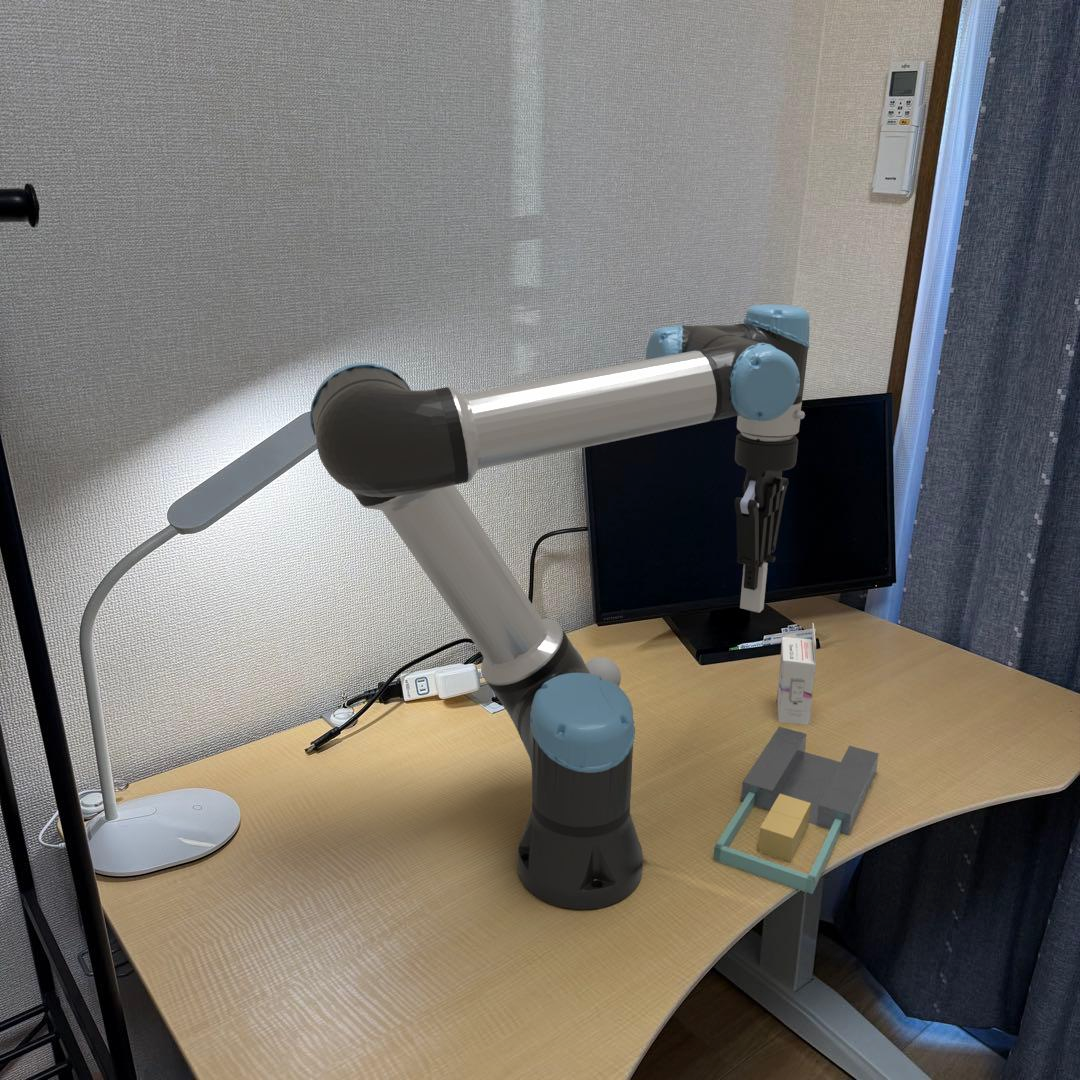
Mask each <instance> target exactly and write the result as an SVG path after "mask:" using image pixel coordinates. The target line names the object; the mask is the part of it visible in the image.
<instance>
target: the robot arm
mask: <svg viewBox="0 0 1080 1080" xmlns="http://www.w3.org/2000/svg"><path fill="white" fill-rule="evenodd" d="M743 319H744V320H743V323H738V324H726V325H725V324H723V325H722V324H721V325H715V324H714V325H713V324H712V325H709V324H708V325H706V324H705V325H683V324H678V325H676V326H664V327H659V328H657V329H655V330H654V331H653V332H652V333H651V335H650V337H649V338H648V341H647V344H646V350H645V359H644V360H643V359H642V360H639V361H633V362H628V363H623V364H618V365H613V366H608V367H601V368H597V369H590V370H585V371H580V372H575V373H569V374H565V375H560V376H555V377H554V376H553V377H550V378H549V377H548V378H544V379H538V380H533V381H529V382H528V381H527V382H523V383H517V384H511V385H508V386H501V387H496V388H495V387H494V388H492V389H491V388H490V389H485V390H481V391H475V392H471V393H464V394H463V393H461V392H459V390H456V389H455V388H453V387H452V386H445V387H440V388H436V389H427V390H426V389H425V390H412V389H411V387H410V386H409V384H408V382H407V381H406V380H405V379H404V378H403V377H402V376H400V374H399V373H398V372H395V371H394V370H393V369H392V370H391V368H389V367H386V366H383V365H380V364H376V363H372V362H355V363H350V364H347V365H345V366H342V367H340V368H338V369H336V370H335V371H333V372H331V373H330V374H329V375H328V376H327V377H326V378H325V379H324V380H323V381H322V382H321V384H320V385H319V386H318V388H317V391H316V393H315V395H314V397H313V398H312V399H313V400H312V401H311V405H310V413H309V421H310V425H311V431H312V432H313V435H314V436H315V435H316V437H315V441H316V442H315V443H316V448H317V452H318V456H319V459H320V461H321V463H322V465H323V467H324V469H326V471H327V473H328V475H329V476H330V477H331V478H332V479H333V480H334V481H335V482H337V484H339V485H341V486H342V487H344V488H345V489H347V490H349V491H350V492H352V494H353V496H354V497H355V498H356V499H357V501H358V503H360V505H361V506H362V507H363V508H365V509H371V510H377V511H378V510H379V511H381V512H383V514H384V516H385V517H386V518H387V520H388V521H389V523H390V524H391V526H392V527H393V528H394V530H395V532H396V533H397V535H398V536H399V537H400V539H401V540H402V541H403V543H404V545H405V547H406V548H407V549H408V550H409V551H410V553H411V554H412V556H413V557H414V559H415V560H416V562H417V563H418V565H419V566H420V568H421V569H422V570H423V572H424V573H425V574H426V576H427V577H428V579H429V581H431V583H432V584H433V585H432V586H434V587H435V588H436V591H437V592H438V594H439V595H440V596H441V598H442V599H443V601H444V602H445V603H446V605H447V606H448V608H449V609H450V611H451V612H452V613H453V615H454V616H455V618H456V619H457V621H458V622H459V624H460V625H461V626H462V628H463V630H465V632H466V634H467V635H468V636H469V638H470V639H471V641H472V642H473V644H474V645H475V646H476V648H477V650H479V653H481V655H482V657H483V660H482V662H481V666H480V667H481V668H480V673H481V676H482V677H483V679H484V681H485V682H486V684H487V685H488V686H489V688H490V689H491V691H492V692H493V694H494V695H495V696H496V698H497V699H498V700H499V702H500V703H501V705H502V706H503V707H504V709H505V711H506V712H507V713H508V715H509V718H510V719H511V720H512V722H513V725H514V726H515V728H516V731H517V733H518V735H519V737H520V738H519V739H521V740H520V741H521V742H522V744H523V746H524V748H525V750H526V753H527V755H528V757H529V760H530V764H531V766H530V767H531V811H530V814H529V817H528V819H527V822H526V825H525V827H524V830H523V832H522V835H521V838H520V841H519V843H518V845H517V846H518V847H517V873H518V877H519V878H520V881H521V882H522V884H523V886H524V887H525V888H526V889H527V890H528V891H529V892H530V893H531V894H532V895H534V896H535V897H537V898H538V899H540V900H542V901H544V902H546V903H548V904H550V905H553V906H557V907H560V908H563V909H564V908H565V909H572V910H592V909H599V908H603V907H608V906H611V905H613V904H616V903H619V902H620V901H622V900H623V899H625V898H627V897H628V896H629V895H630V894H632V893H633V892H634V891H635V890H636V888H637V887H638V885H639V883H640V881H641V878H642V875H643V864H644V863H643V860H644V859H643V857H644V856H643V855H644V854H643V848H642V844H641V842H640V841H639V840H640V839H639V836H638V834H637V831H636V827H635V825H634V822H633V821H634V820H633V819H632V816H631V800H632V799H631V796H632V793H631V792H632V779H633V777H632V775H633V755H634V740H635V735H636V727H635V720H634V710H633V705H632V702H631V701H630V698H629V697H628V695H627V694H626V693H625V691H624V690H623V689H622V688H621V687H620V686H619V687H618V686H617V685H616V684H614V683H613V682H611V681H609V680H605V681H602V679H601V677H600V676H597V675H593V674H591V673H590V671H589V670H588V668H587V667H586V665H585V664H586V663H585V661H584V659H583V657H582V655H581V653H580V652H579V651H578V650H577V649H576V647H575V646H574V645H573V643H572V642H571V640H570V638H569V637H568V635H567V634H566V633H565V631H564V629H563V628H562V626H561V625H560V624H559V623H558V622H557V621H556V620H553V619H550V618H541V616H540V614H539V613H538V612H537V609H536V608H535V607H534V605H533V603H532V602H531V601H530V599H529V598H528V597H529V596H527V594H526V592H525V591H524V589H523V588H522V586H521V584H520V583H519V582H518V581H517V579H516V577H515V575H513V573H512V571H511V569H510V568H509V566H508V565H507V564H506V562H505V560H504V559H503V557H502V555H501V554H500V553H499V551H498V550H497V547H496V546H495V545H494V543H493V541H492V540H491V539H490V537H489V535H488V534H487V532H486V531H485V529H484V528H483V526H482V525H481V523H480V522H479V520H478V519H477V517H476V516H475V514H474V512H473V510H472V509H471V508H470V506H469V505H468V503H467V502H466V501H467V500H465V498H464V496H463V495H462V494H461V492H460V490H459V489H458V488H457V486H456V485H461V484H462V485H463V484H465V483H470V482H471V481H472V479H473V477H474V476H475V475H476V473H477V472H478V471H479V470H482V469H483V470H484V469H488V468H493V467H497V466H502V465H506V464H512V463H516V462H517V463H518V462H521V461H525V460H531V459H536V458H541V457H545V456H549V455H555V454H559V453H560V454H561V453H565V452H569V451H574V450H579V449H583V448H587V447H593V446H597V445H602V444H608V443H611V442H616V441H622V440H627V439H630V438H631V439H632V438H635V437H640V436H645V435H650V434H655V433H660V432H665V431H669V430H670V431H671V430H674V429H678V428H684V427H689V426H694V425H698V424H703V423H707V422H711V421H718V420H723V419H729V418H733V417H737V420H736V429H737V430H738V431H739V433H738V434H737V435H736V436H735V437H736V439H735V447H734V448H735V449H734V450H735V451H734V462H735V463H736V464H737V465H738V466H740V467H743V468H744V469H745V470H746V473H745V474H746V475H745V479H743V482H742V491H741V492H742V494H743V497H738V496H737V497H736V498H735V499H734V503H733V504H734V509H735V514H736V551H737V552H736V563H737V564H742V565H743V566H742V567H743V568H742V580H741V589H740V591H741V592H740V601H739V603H740V604H739V608H740V609H743V610H746V611H750V612H754V613H761V612H762V611H763V610H764V608H765V597H766V595H765V594H766V589H767V588H766V586H767V585H766V584H767V577H768V576H767V575H768V566H769V563H768V562H771V563H775V561H776V558H777V557H776V556H777V555H776V556H775V555H771V553H774V552H775V551H776V546H777V540H778V534H779V529H780V524H781V517H782V512H783V506H784V501H785V495H786V492H787V488H788V486H789V478H788V477H787V478H786V477H782V475H783V471H788V470H791V469H793V468H794V467H795V466H796V464H797V457H798V447H799V439H798V437H797V436H796V435H797V434H799V432H800V425H801V420H803V419H804V418H805V416H806V414H805V413H806V412H804V411H803V410H802V406H803V405H802V404H803V394H804V388H805V379H806V371H807V360H808V354H809V353H808V351H809V349H810V331H811V329H810V328H811V326H810V314H809V312H808V311H807V310H806V309H804V308H803V307H800V306H796V305H791V304H789V305H788V304H769V303H768V304H759V305H758V304H757V305H751V306H750V307H749V308H747V310H746V313H745V318H743Z"/></svg>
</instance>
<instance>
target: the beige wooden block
mask: <svg viewBox="0 0 1080 1080" xmlns="http://www.w3.org/2000/svg"><path fill="white" fill-rule="evenodd" d="M810 807H811V803H809V802H806V801H802V800H799V799H796V798H793V797H789V796H786V795H783V794H779V796H778V797H777V799H776V801H775V803H774V804H773V806H772V808H771V809H770V810H771V811H775V812H778V813H781V814H784V815H787V816H790V817H794V818H797V819H800V820H802V827H801V836H800V842H801V841H802V839H803V837H804V835H805V833H806V831H807V830H808V827H809V824H810V823H809V815H810Z"/></svg>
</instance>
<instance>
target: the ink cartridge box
mask: <svg viewBox="0 0 1080 1080" xmlns="http://www.w3.org/2000/svg"><path fill="white" fill-rule="evenodd" d="M811 624H812V625H811V626H812V629H811V630H812V634H811V635H812V639H811V638H803V637H802V638H799V637H789V636H782V638H781V646H780V656H779V657H780V658H779V659H780V660H779V669H778V670H779V671H778V672H779V673H778V681H777V689H776V690H777V691H776V703H777V719H778V721H777V722H778V723H783V724H787V723H788V724H796V725H807V726H810V725H811V724H810V723H811V718H812V717H811V716H812V705H813V698H814V697H813V696H814V695H813V694H814V687H815V677H816V668H817V641H816V639H817V638H816V630H815V624H814V622H812V623H811Z"/></svg>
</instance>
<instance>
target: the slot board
mask: <svg viewBox="0 0 1080 1080" xmlns="http://www.w3.org/2000/svg"><path fill="white" fill-rule="evenodd" d="M807 736H808V734H807V733H804V732H801V731H798V730H793V729H790V728H786V727H782V726H778V727H777V729H776V731H775V732H774V733H773V735H772V737H771V738H770V739H769V741H768V742H767V744H766V746H765V747H764V749H763V751H762V752H761V753H760V755H759V757H758V758H757V759H756V760H755V763H754V764H753V765H752V767H751V769H750V770H749V772H748V773H747V774H746V776H745V777H744V779H743V781H742V786H741V795H740V802H741V803H743V801H744V799H745V798H746V796H747V795H748V793H749V792H751V793H754V794H755V802H754V807H756V808H760V809H763V810H766V811H769V812H770V809H771V808H772V806H773V804H774V803H775V801H776V799H777V797H778V796H779V794H783V795H786V796H789V797H793V798H796V799H799V800H802V801H806V802H809V803H811V807H810V815H809V824H810V825H811V824H812V825H814V826H817V827H820V828H824V829H828V830H830V829H831V827H832V825H833V823H834V820H835V818H836V819H839V820H842V823H841V831H840V834H843V835H846V836H849V835H850V833H851V831H852V828H853V826H854V824H855V821H856V819H857V816H858V815H859V812H860V810H861V807H862V805H863V803H864V801H865V798H866V796H867V795H868V792H869V789H870V788H871V784H872V783H873V780H874V778H875V775H876V773H877V769H878V763H879V762H878V761H879V755H880V754H879V753H878V752H874V751H871V750H868V749H864V748H859V747H856V746H853V745H848V747H847V750H846V752H845V753H844V755H843V757H842V759H841V761H838V760H835V759H830V758H827V757H824V756H820V755H816V754H813V753H809V752H806V743H807V742H806V741H807Z"/></svg>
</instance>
